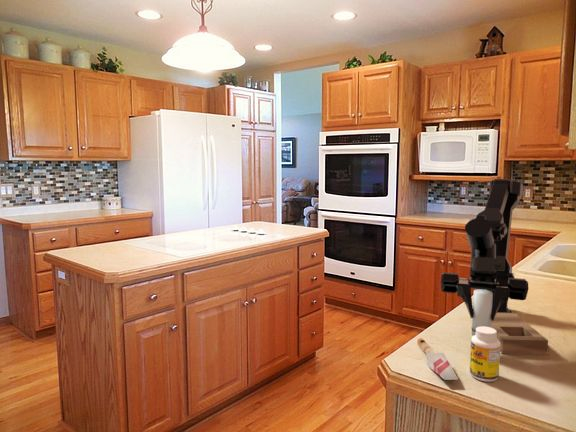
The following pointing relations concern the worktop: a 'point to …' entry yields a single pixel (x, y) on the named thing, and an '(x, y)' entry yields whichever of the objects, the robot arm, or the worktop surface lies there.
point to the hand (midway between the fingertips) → (482, 318)
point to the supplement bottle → (485, 354)
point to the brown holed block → (518, 335)
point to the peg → (481, 309)
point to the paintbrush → (437, 361)
